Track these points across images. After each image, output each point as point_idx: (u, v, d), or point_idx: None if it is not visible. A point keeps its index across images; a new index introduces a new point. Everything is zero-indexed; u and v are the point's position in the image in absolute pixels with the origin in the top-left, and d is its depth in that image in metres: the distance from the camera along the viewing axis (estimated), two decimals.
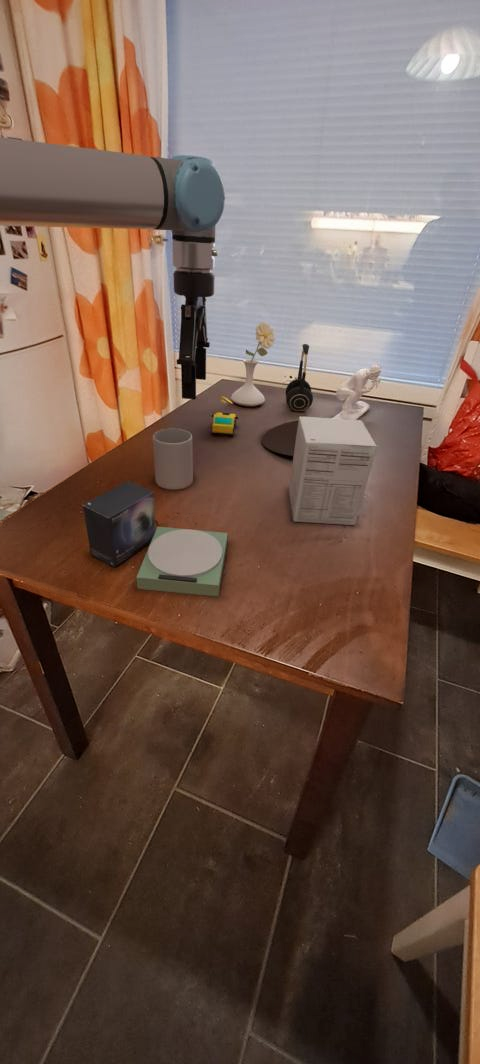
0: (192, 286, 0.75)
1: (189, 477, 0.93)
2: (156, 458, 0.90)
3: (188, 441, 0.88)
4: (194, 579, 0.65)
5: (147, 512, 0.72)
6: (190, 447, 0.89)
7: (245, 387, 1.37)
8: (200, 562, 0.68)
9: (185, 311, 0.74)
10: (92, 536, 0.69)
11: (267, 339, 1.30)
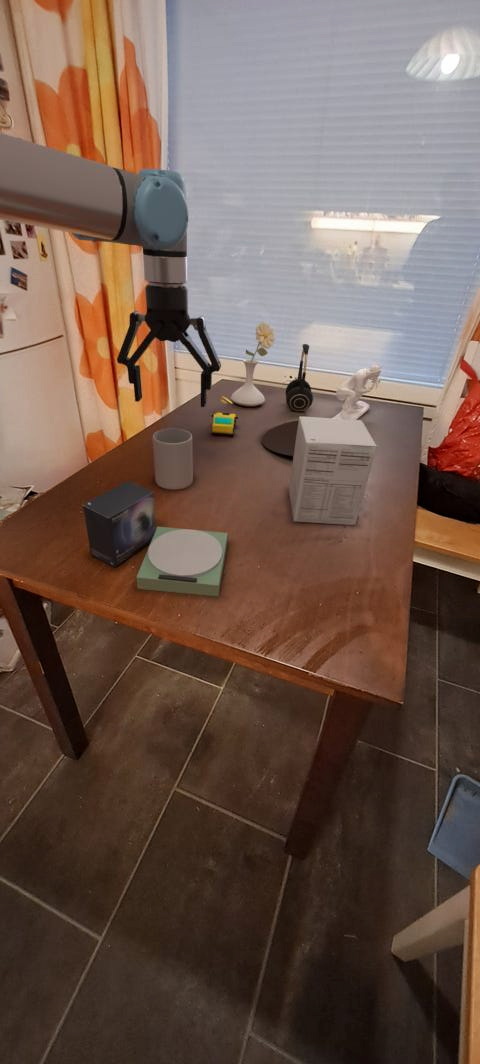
0: (187, 299, 0.76)
1: (189, 477, 0.93)
2: (156, 458, 0.90)
3: (188, 441, 0.88)
4: (194, 579, 0.65)
5: (147, 512, 0.72)
6: (190, 447, 0.89)
7: (245, 387, 1.37)
8: (200, 562, 0.68)
9: (203, 323, 0.78)
10: (92, 536, 0.69)
11: (267, 339, 1.30)
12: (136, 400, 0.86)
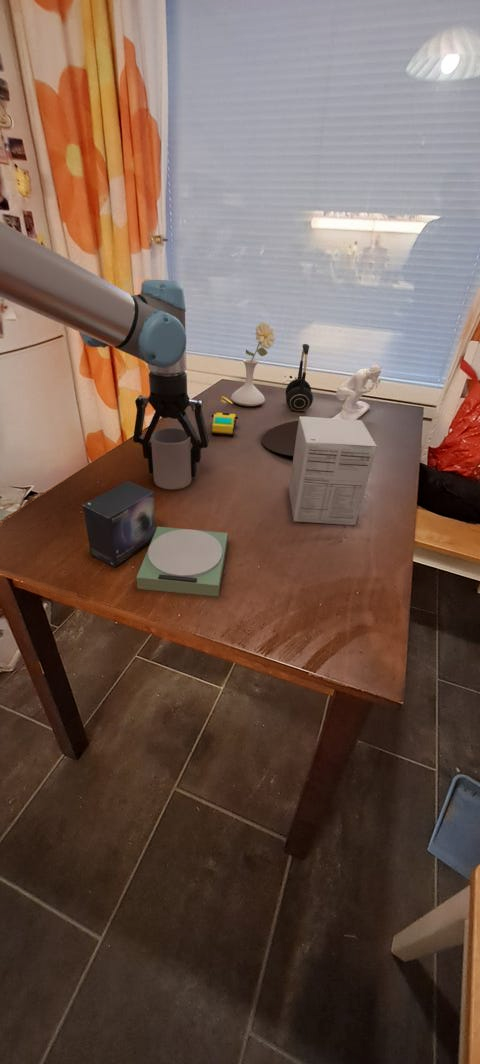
0: (186, 383, 0.84)
1: (188, 477, 0.93)
2: (155, 458, 0.90)
3: (186, 441, 0.88)
4: (194, 579, 0.65)
5: (147, 512, 0.72)
6: (188, 447, 0.90)
7: (245, 387, 1.37)
8: (200, 562, 0.68)
9: (201, 407, 0.86)
10: (92, 536, 0.69)
11: (267, 339, 1.30)
12: (150, 472, 0.95)
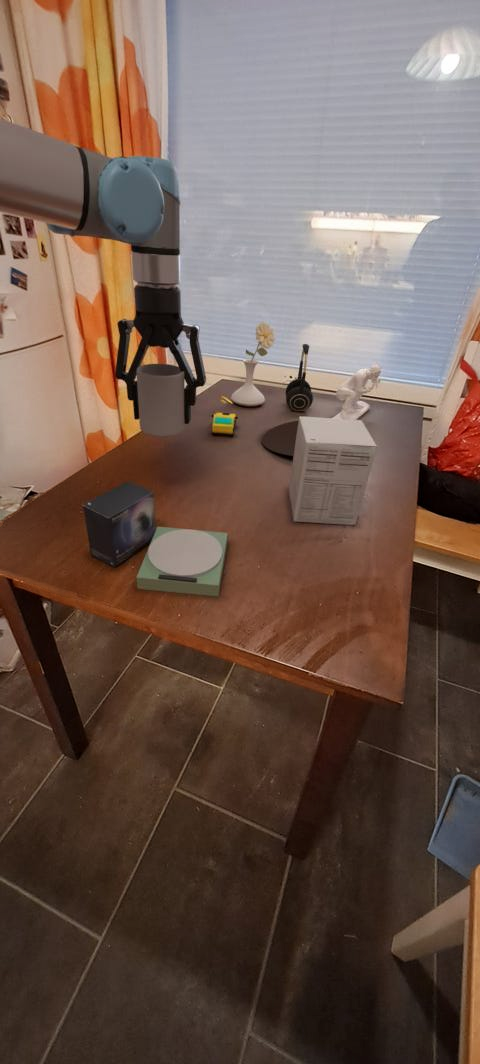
0: (180, 301, 0.70)
1: (180, 422, 0.78)
2: (141, 397, 0.75)
3: (179, 375, 0.73)
4: (194, 579, 0.65)
5: (147, 512, 0.72)
6: (182, 384, 0.75)
7: (245, 387, 1.37)
8: (200, 562, 0.68)
9: (197, 333, 0.72)
10: (92, 536, 0.69)
11: (267, 339, 1.30)
12: (135, 418, 0.80)
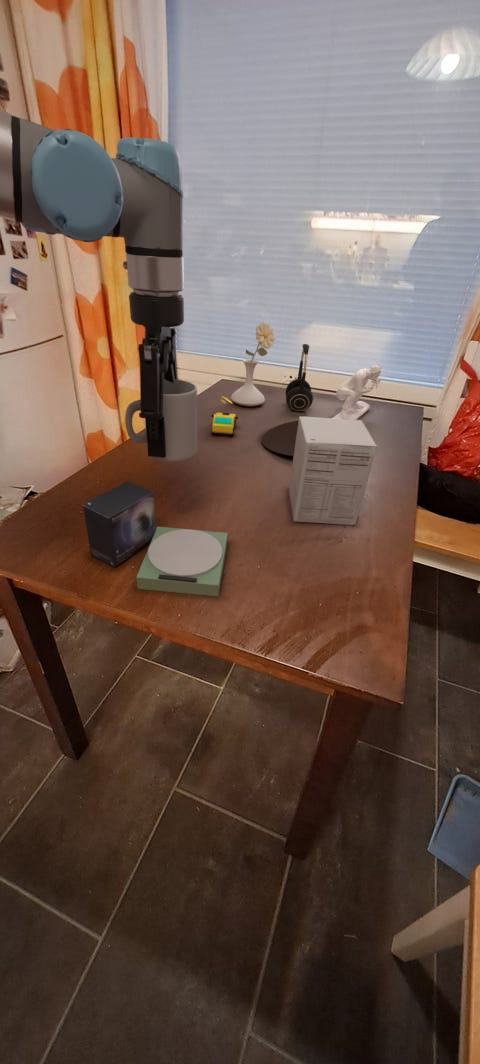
0: None
1: None
2: (185, 420, 0.66)
3: None
4: (194, 579, 0.65)
5: (147, 512, 0.72)
6: None
7: (245, 387, 1.37)
8: (200, 562, 0.68)
9: None
10: (92, 536, 0.69)
11: (267, 339, 1.30)
12: (165, 455, 0.67)
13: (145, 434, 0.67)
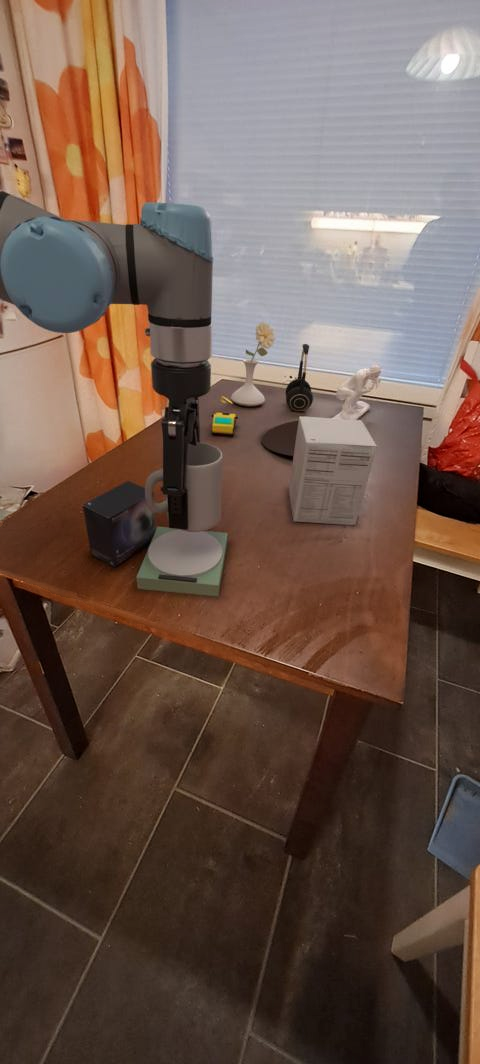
0: None
1: None
2: (210, 491, 0.60)
3: None
4: (194, 579, 0.65)
5: (147, 512, 0.72)
6: None
7: (245, 387, 1.37)
8: (200, 562, 0.68)
9: None
10: (92, 536, 0.69)
11: (267, 339, 1.30)
12: (187, 527, 0.62)
13: (166, 504, 0.62)
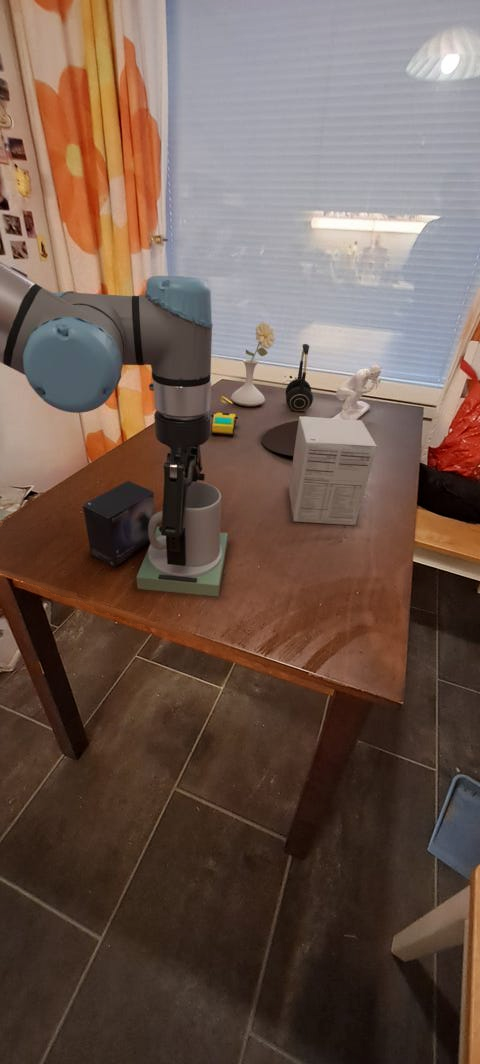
0: None
1: None
2: (209, 530, 0.64)
3: None
4: (194, 579, 0.65)
5: (147, 512, 0.72)
6: None
7: (245, 387, 1.37)
8: None
9: None
10: (92, 536, 0.69)
11: (267, 339, 1.30)
12: (185, 563, 0.63)
13: None
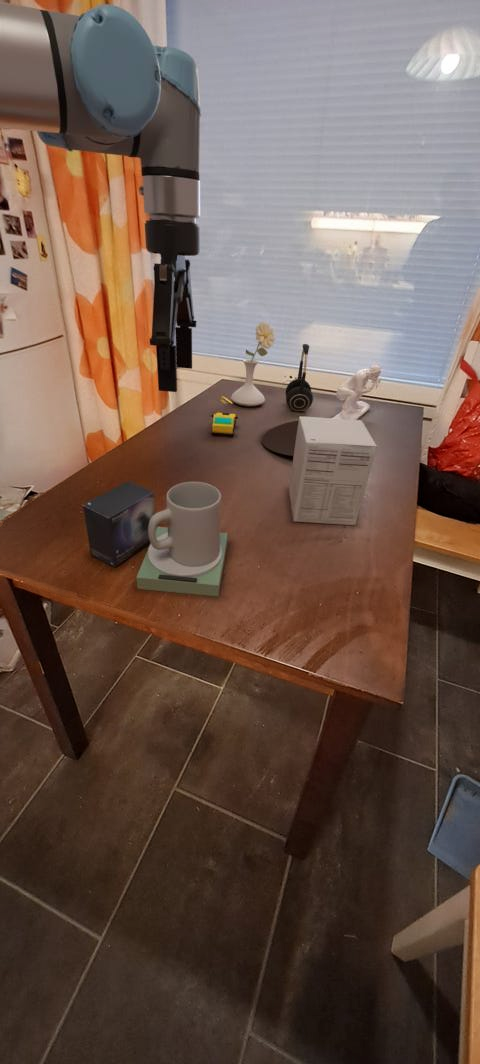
0: None
1: None
2: (209, 530, 0.64)
3: None
4: (194, 579, 0.65)
5: (147, 512, 0.72)
6: None
7: (245, 387, 1.37)
8: None
9: None
10: (92, 536, 0.69)
11: (267, 339, 1.30)
12: (176, 390, 0.64)
13: (168, 541, 0.66)
